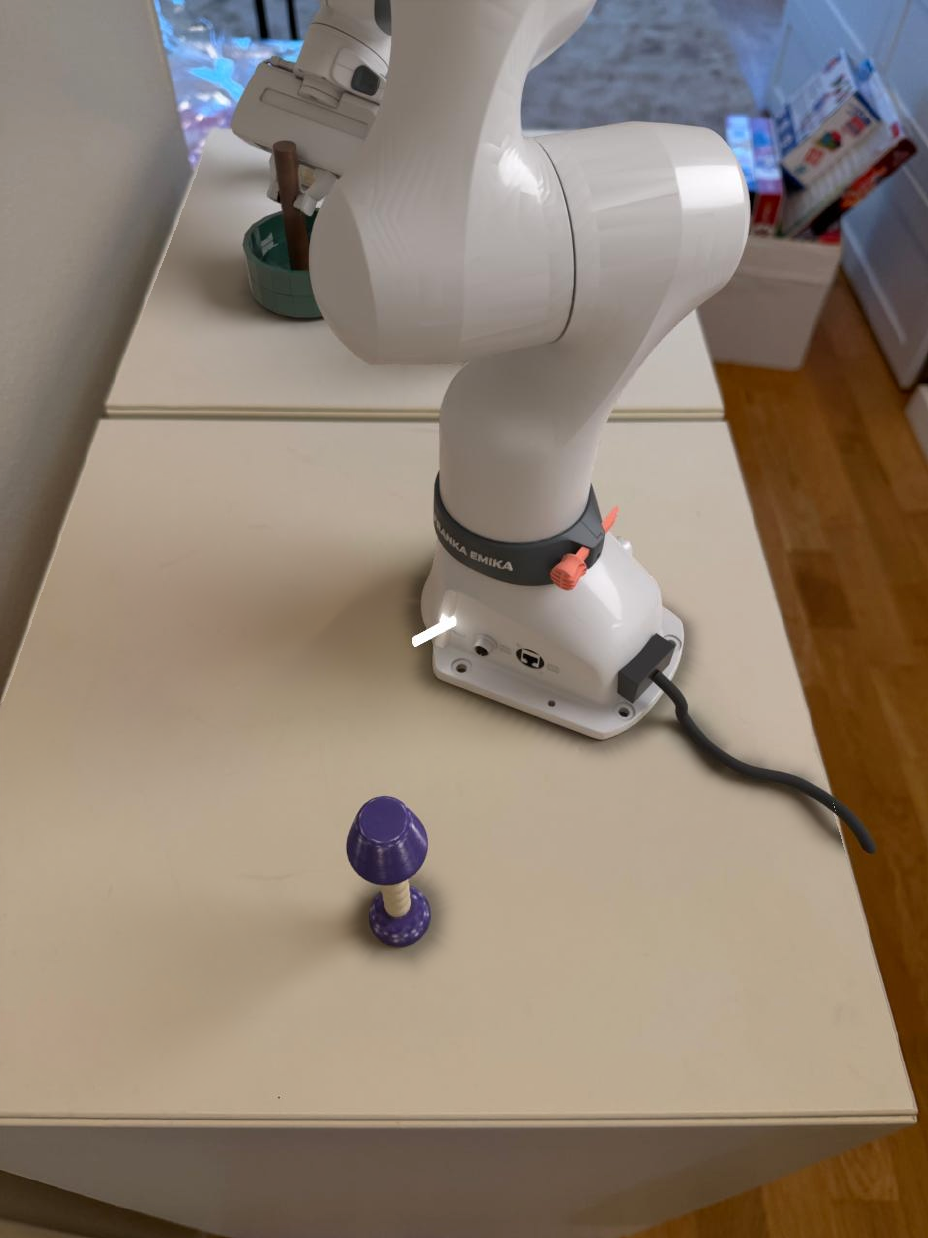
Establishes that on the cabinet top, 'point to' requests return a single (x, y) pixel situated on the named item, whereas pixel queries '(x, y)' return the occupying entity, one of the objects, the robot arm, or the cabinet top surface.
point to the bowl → (278, 269)
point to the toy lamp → (391, 868)
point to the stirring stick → (291, 204)
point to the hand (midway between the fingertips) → (288, 206)
